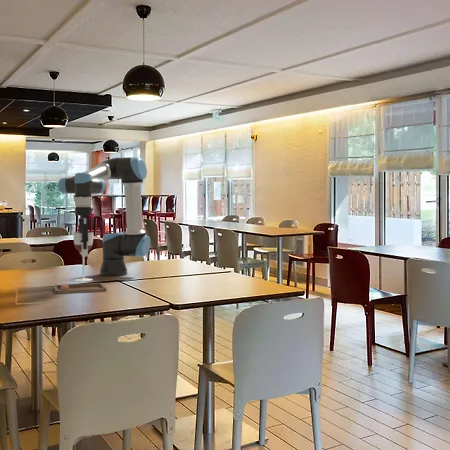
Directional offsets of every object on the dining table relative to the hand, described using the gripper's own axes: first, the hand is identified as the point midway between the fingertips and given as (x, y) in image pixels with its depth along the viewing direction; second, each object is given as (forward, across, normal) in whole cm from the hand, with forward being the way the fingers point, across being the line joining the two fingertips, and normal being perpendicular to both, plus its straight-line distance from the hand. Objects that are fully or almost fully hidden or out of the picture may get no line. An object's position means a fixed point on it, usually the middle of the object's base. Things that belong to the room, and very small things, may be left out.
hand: (83, 255), depth 266 cm
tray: (+17, +1, -2) cm, 17 cm away
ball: (+16, +5, -9) cm, 19 cm away
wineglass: (+12, 0, 0) cm, 12 cm away
